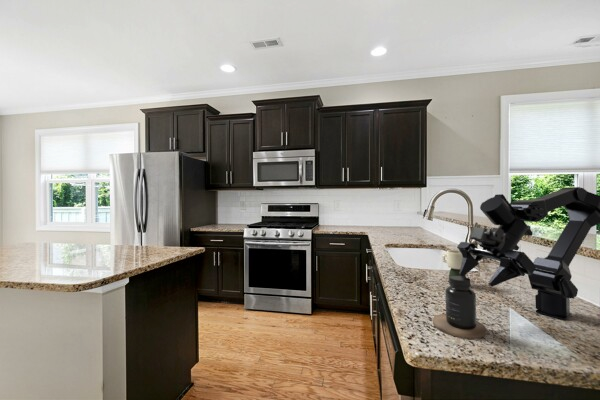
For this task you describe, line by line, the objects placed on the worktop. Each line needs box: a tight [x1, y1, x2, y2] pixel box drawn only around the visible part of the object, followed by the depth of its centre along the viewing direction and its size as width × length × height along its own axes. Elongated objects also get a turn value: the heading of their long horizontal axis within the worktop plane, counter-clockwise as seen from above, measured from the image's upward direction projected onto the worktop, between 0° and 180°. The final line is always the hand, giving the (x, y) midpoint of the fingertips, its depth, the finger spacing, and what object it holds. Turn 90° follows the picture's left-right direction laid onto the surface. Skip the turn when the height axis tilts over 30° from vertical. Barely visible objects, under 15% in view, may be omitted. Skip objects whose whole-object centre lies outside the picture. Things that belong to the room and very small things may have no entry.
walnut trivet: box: [432, 313, 487, 339], centre depth 71 cm, size 12×12×1 cm
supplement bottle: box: [444, 276, 477, 330], centre depth 70 cm, size 7×7×12 cm
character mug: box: [442, 249, 467, 282], centre depth 107 cm, size 11×7×13 cm, turn 41°
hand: (474, 280), depth 72 cm, fingers open, 9 cm apart
